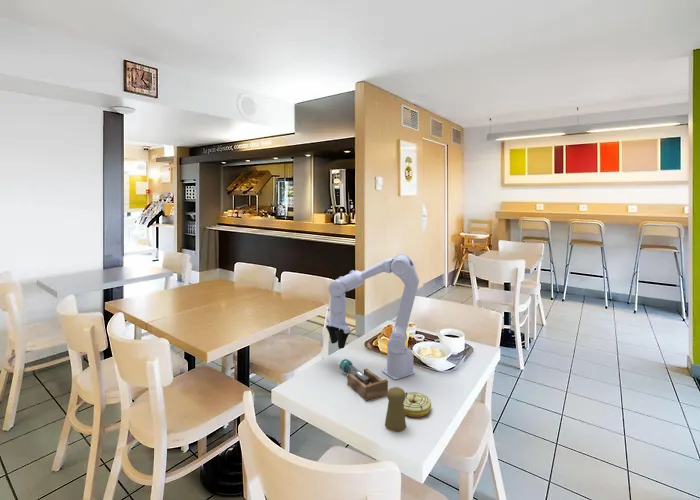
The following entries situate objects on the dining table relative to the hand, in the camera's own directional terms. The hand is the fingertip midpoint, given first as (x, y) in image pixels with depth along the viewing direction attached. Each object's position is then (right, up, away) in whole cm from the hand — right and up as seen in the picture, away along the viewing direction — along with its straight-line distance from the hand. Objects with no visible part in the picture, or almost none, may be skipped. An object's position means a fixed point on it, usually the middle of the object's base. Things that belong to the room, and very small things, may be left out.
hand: (337, 345), depth 144 cm
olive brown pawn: (+18, -14, -35) cm, 42 cm away
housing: (+10, -11, -16) cm, 22 cm away
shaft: (+7, -9, -9) cm, 15 cm away
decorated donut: (+24, -13, -27) cm, 39 cm away
